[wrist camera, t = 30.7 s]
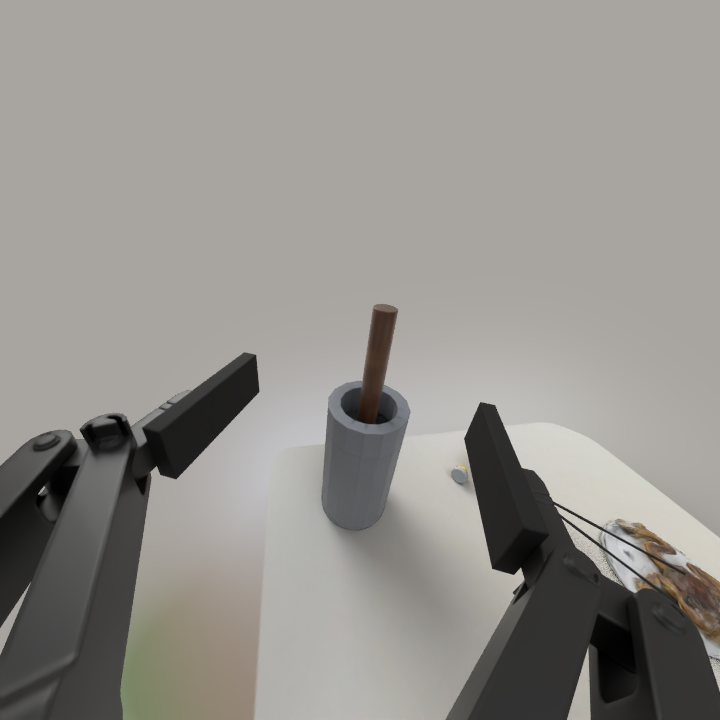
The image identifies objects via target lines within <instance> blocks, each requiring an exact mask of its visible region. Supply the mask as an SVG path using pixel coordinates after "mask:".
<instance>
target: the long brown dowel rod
mask: <svg viewBox="0 0 720 720" xmlns="http://www.w3.org/2000/svg"><path fill="white" fill-rule="evenodd" d="M397 313H398V309H397V308H395V307H393V306H390V305H385V304H378V305H375V306H374V307H373V312H372V320H371V326H370V334H369V340H368V347H367V355H366V361H365V367H364V374H363V381H362V388H361V395H360V402H359V409H358V415H357V421H358V422H361V423H364V424H375V425H376V421H377V416H378V411H379V406H380V401H381V396H382V390H383V385H384V380H385V375H386V370H387V365H388V360H389V355H390V349H391V344H392V339H393V334H394V329H395V324H396V319H397Z"/></svg>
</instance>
